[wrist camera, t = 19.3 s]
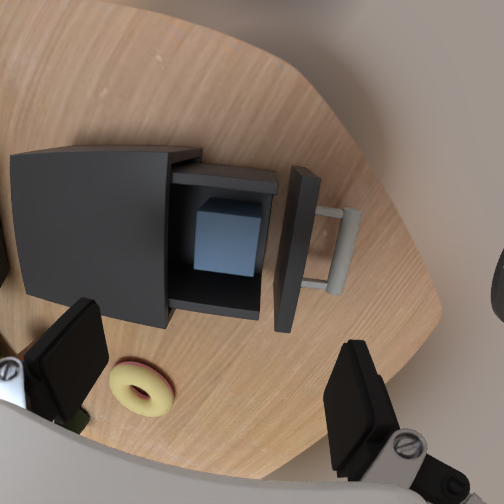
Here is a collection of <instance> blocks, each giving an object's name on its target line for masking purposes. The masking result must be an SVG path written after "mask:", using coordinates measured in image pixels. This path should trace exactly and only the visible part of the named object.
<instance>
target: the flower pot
mask: <svg viewBox="0 0 504 504" xmlns="http://www.w3.org/2000/svg"><path fill="white" fill-rule="evenodd" d="M8 273H9V266H8V262H7V257H6V253H5V248H4V243H3V237H2V231H1V225H0V288H1V286H2V284H3V282H4V280H5V279H6V277H7V275H8Z"/></svg>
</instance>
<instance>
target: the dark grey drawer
mask: <svg viewBox="0 0 504 504" xmlns="http://www.w3.org/2000/svg"><path fill="white" fill-rule="evenodd" d="M320 182H321V178H320V177H318V176H317V175H315V174H314V173H312V172H311V171H309V170H308V169H306V168H305V167H299V166H293V165H292V167H291V174H290V181H289V188H288V195H287V201H286V208H285V215H284V221H283V227H282V234H281V240H280V246H279V253H278V259H277V265H276V271H275V277H274V283H273V290H274V330H275V332H283V333H290V332H291V328H292V324H293V319H294V315H295V310H296V306H297V302H298V297H299V292H300V288H301V287H307V288H316V289H325V290H326V292H327V293H329V294H332V295H341V294H342V292H343V289H344V285H345V282H346V278H347V274H348V270H349V266H350V263H351V259H352V255H353V251H354V246H355V242H356V238H357V234H358V229H359V225H360V220H361V216H362V211H361V210H359V209H356V208H352V207H344V208H343V210H342V209H337V208H330V207H324V206H318V205H317V200H318V194H319V188H320ZM278 186H279V183H278V180H277V176H276V172H275V171H268V170H261V169H253V168H244V167H235V166H226V165H216V164H205V163H192V162H177V163H173V164H171V176H170V193H169V215H168V265H167V271H168V307H171V308H176V309H182V310H188V311H195V312H201V313H207V314H214V315H221V316H228V317H235V318H243V319H251V320H259V313H260V297H261V277H262V268H263V261H264V254H265V247H266V240H267V233H268V226H269V219H270V212H271V205H272V198H273V195H277V193H278ZM210 197H212V198H221V199H230V200H239V201H247V202H255V203H262V217H261V225H260V233H259V240H258V248H257V255H256V262H255V270H254V276H253V277H250V276H242V275H235V274H227V273H220V272H212V271H205V270H198V269H194V251H195V232H196V216H197V210H198V209H199V208H200V207H201V206H202V205H203V204H204V203H205V202H206V201H207V200H208V199H209V198H210ZM315 214H316V215H323V216H329V217H335V218H341V221H340V226H339V231H338V236H337V240H336V245H335V249H334V254H333V258H332V263H331V267H330V271H329V275H328V279H327V281H326V280H319V279H310V278H303V274H304V269H305V264H306V259H307V254H308V249H309V244H310V239H311V233H312V228H313V223H314V217H315Z"/></svg>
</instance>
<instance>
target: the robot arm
mask: <svg viewBox="0 0 504 504" xmlns="http://www.w3.org/2000/svg"><path fill="white" fill-rule="evenodd" d="M23 358H24V361H23V362H21V361H20V360H19V359H17V358H15V357H5V358H2V359H0V504H486V503H485V502H484V501H483V500H482V499H481V498H480V497H479V496H478V495H477V494H476V493H473V494H471V493H470V492H469V491H470V483H469V480H468V479H467V477H466V476H465V475H464V474H463V473H461V472H460V471H458V470H456V469H454V468H452V467H450V466H448V465H446V464H444V463H443V462H441V461H439V460H437V459H436V458H434V457H432V456H430V455H429V454H427V449H428V448H427V443H426V440H425V438H424V437H423V436H422V435H421V434H420V433H418V432H417V431H415V430H412V429H405V428H404V429H400V427H399V424H398V421H397V418H396V415H395V412H394V409H393V406H392V404H391V401H390V398H389V395H388V392H387V390H386V387H385V384H384V381H383V379H382V377H381V376H380V375H378V374H377V371H376V369H375V366H374V363H373V361H372V358H371V355H370V353H369V350H368V348H367V345H366V342H365V341H364V340H352V339H350V340H349V341H348V342H347V343H343V345H342V347H341V350H340V353H339V355H338V358H337V361H336V363H335V366H334V368H333V371H332V374H331V376H330V379H329V381H328V383H327V386H326V388H325V391H324V395H323V401H324V408H325V415H326V423H327V430H328V438H329V446H330V454H331V463H332V469H333V470H334V471H337V477H338V478H341V477H347V478H348V482H291V481H271V480H258V479H248V478H239V477H231V476H224V475H218V474H212V473H206V472H200V471H195V470H190V469H185V468H181V467H176V466H172V465H168V464H164V463H160V462H156V461H153V460H149V459H146V458H142V457H139V456H136V455H132V454H129V453H126V452H123V451H120V450H117V449H114V448H112V447H109V446H106V445H103V444H101V443H98V442H96V441H93V440H91V439H88V438H86V437H83V436H81V435H79V434H76V433H74V432H72V431H70V430H67V429H65V428H63V427H61V426H59V425H57V424H54V423H52V422H53V420H55V421H57V422H59V423H61V424H63V425H65V426H66V424H67V422H68V421H69V420H72V419H73V418H74V416H75V415H76V413H77V411H78V410H79V408H80V406H81V405H82V403H83V401H84V400H85V398H86V397H87V395H88V393H89V392H90V390H91V389H92V387H93V385H94V384H95V382H96V381H97V379H98V377H99V376H100V374H101V373H102V371H103V370H104V368H105V367H106V365H107V363H108V361H109V353H108V349H107V344H106V339H105V334H104V329H103V324H102V318H101V313H100V307H99V305H98V304H97V303H96V301H95V300H93V299H89V298H85V297H81V298H80V299H78V300H77V301H76V302H75V303H74V304H73V305H72V306H71V307H70V308H69V309H68V310H67V311H66V312H65V313H64V314H63V315H62V316H61V317H60V318H59V319H58V320H57V321H56V322H55V323H54V324H53V325H52V326H51V327H50V328H49V329H48V330H47V331H46V332H45V333H44V334H43V335H42V336H41V337H40V338H39V339H38V341H37V342H36V343H35V344H34V345H33V346H32V347H31V348H30V349H29V350H28V351H27V352H26V353H25V354H24V356H23Z"/></svg>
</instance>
